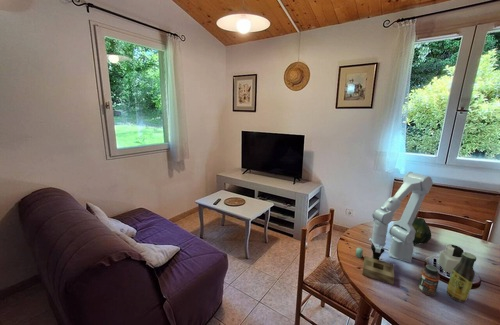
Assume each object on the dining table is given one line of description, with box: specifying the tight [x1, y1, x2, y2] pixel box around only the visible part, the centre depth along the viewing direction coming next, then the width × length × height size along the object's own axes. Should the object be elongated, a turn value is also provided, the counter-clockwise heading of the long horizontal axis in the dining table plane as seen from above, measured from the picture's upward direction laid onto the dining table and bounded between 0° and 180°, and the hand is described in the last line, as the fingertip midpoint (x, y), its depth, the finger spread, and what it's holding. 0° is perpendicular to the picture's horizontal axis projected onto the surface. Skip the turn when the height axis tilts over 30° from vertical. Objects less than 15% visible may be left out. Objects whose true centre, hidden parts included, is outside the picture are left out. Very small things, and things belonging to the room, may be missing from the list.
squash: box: [402, 217, 432, 245], centre depth 128 cm, size 14×15×15 cm
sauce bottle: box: [446, 251, 477, 303], centre depth 88 cm, size 6×6×20 cm
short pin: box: [355, 247, 364, 259], centre depth 115 cm, size 3×3×4 cm
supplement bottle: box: [417, 264, 440, 297], centre depth 92 cm, size 6×6×11 cm
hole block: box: [362, 255, 395, 285], centre depth 103 cm, size 12×10×4 cm
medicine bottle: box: [437, 244, 465, 274], centre depth 105 cm, size 7×7×12 cm
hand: (375, 257), depth 111 cm, fingers closed on long pin, 3 cm apart
